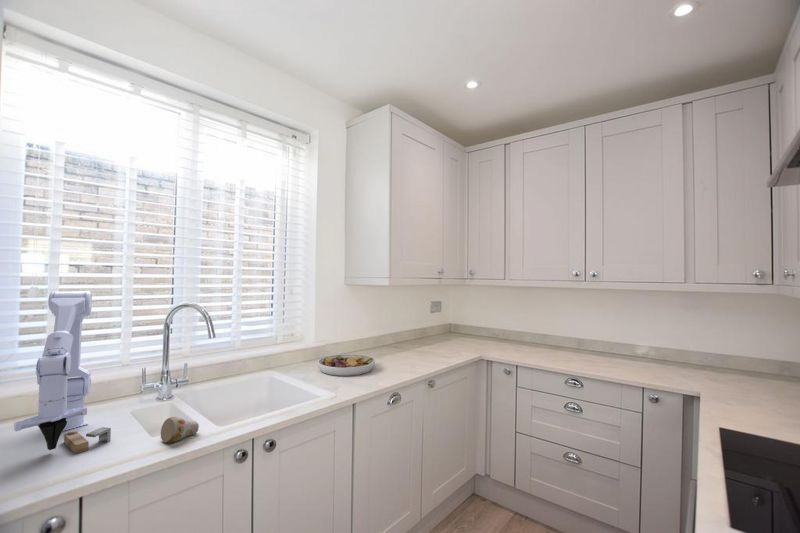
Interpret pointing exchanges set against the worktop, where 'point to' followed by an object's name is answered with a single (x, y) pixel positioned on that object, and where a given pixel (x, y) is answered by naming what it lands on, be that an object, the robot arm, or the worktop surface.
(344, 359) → the bowl
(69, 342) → the robot arm
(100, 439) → the bracket
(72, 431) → the link
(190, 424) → the grey-brown rounded piece
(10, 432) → the worktop surface
